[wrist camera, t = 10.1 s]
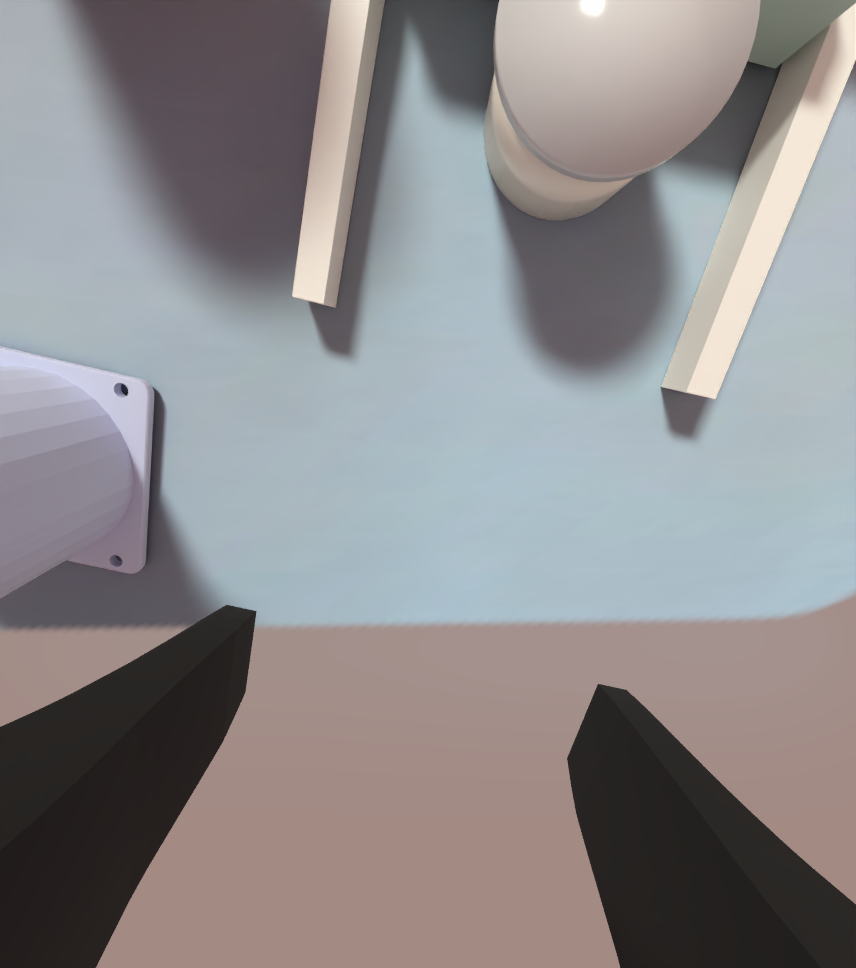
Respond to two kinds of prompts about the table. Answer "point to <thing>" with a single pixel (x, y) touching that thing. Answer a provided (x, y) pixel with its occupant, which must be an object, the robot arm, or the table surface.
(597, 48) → the jar
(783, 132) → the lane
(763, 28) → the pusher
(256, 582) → the table surface
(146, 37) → the table surface
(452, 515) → the table surface
